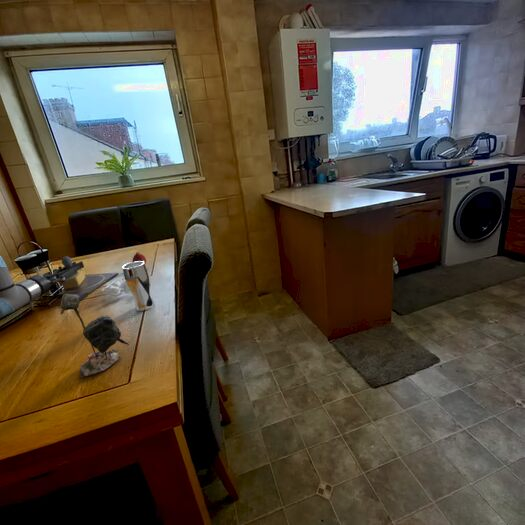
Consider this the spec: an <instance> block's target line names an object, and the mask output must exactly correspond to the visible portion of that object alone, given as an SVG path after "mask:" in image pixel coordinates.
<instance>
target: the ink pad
mask: <svg viewBox="0 0 525 525" xmlns="http://www.w3.org/2000/svg"><path fill="white" fill-rule="evenodd" d="M70 294H74V295H79V298H80V299H79V302H81V301H83V300H84V299H86V298H87V297H88V295H87V292H83V293H70ZM61 301H62V298H60V302H61Z"/></svg>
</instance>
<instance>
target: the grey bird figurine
mask: <svg viewBox="0 0 525 525" xmlns="http://www.w3.org/2000/svg"><path fill="white" fill-rule="evenodd" d="M61 299H62V301H61V300H60V306H59V307H60V309H61V312H60V315H63V314H64V312H65V311H69V310H73V311H74V312H75V314H76V316H77V317H78V318H79V321H80V323H81V325H82V328H83V330H82V335H83V336H84V338H85V339H86V340H87V341H88V343H89V344H90V346H91V349H92V351H93V353H90V354H88V355H87V359H86V361H84V362H83V363H81V365H80V368H79V369H80V370H79V373H80V378H85V377H88V376H92V375H94V374H97V373H102V371H103V372H104V371H106V370H107V369H108V368H109V367H111V366H112V365H113V364H115V363H116V362H118V361H119V360H121V355H120V353H119V351H118V350H116V349H112V350H109V349H110V348H111V347H112V346H114V345H116V343H117V342H120V343H121V344H124V345H127V346H128V345H130V343H129V342H128V341H125V340H124V339H121V337H122V332H121V330H120V328H119V326H118V325H117V324H116V322H115V321H114V320H113V318H111V316H109V315H101V316H99V317H96V319H93V320H91V321H90V322H89V323H88V324H87V325H86V326H85V323H84V321H83V319H82V317H81V315H80V312H79V310H78V308H79V307H80V301H79V299H80V298H79V295H74V294H64V295H63V296H61ZM96 350H97V351H96Z"/></svg>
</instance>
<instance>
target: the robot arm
mask: <svg viewBox="0 0 525 525" xmlns="http://www.w3.org/2000/svg"><path fill="white" fill-rule="evenodd" d="M84 268H85V265H84V262H83V260H82V261H78V262H76V261H72V266H71V267H70V268H68V269H67V268H66V267H65V266H63V267H62V266H60V265H59V266H58V267H57V268H54V269H52V270H53V274H52V275H51V273H50V272H49V271H47V272H45V273H42V274H41V275H43V276H41V275H40V274H35V275H32V276H30V277H28V278H25V279H23V280H21V281H19V282H17V283H15V282H14V280H13V278H12V275H11V273H10V270H9V268H8V265H7V264H6V262H5V260H4V259H3V257H2V256H1V255H0V319H3V318H4V317H6V316H8V315H10V314H12V313H14V312H15V311H17V310H19V309H21V308H22V307H24V306H26V305H27V304H31V303H32V302H33V301H34V300H36V299H39V298H40V297H43V296H42V295H44V294H46V293H48V292H49V291H51V287H53V286H54V285H56V284H58V283H59V282H60V283H61V282H62V283H64V282H66V280H68V279H69V278H71V277H72V276H74V275H76V274H77V273H78V272H77V271H81V269H84ZM62 283H61V284H62Z"/></svg>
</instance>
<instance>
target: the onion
mask: <svg viewBox="0 0 525 525" xmlns="http://www.w3.org/2000/svg"><path fill="white" fill-rule="evenodd" d="M136 261H143V262H144V263H145V265H146V264H147V258H146V257H145V255H144V254H142V253H140V251H136V253H135V254H134V256H133V257H132V262H136Z"/></svg>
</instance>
